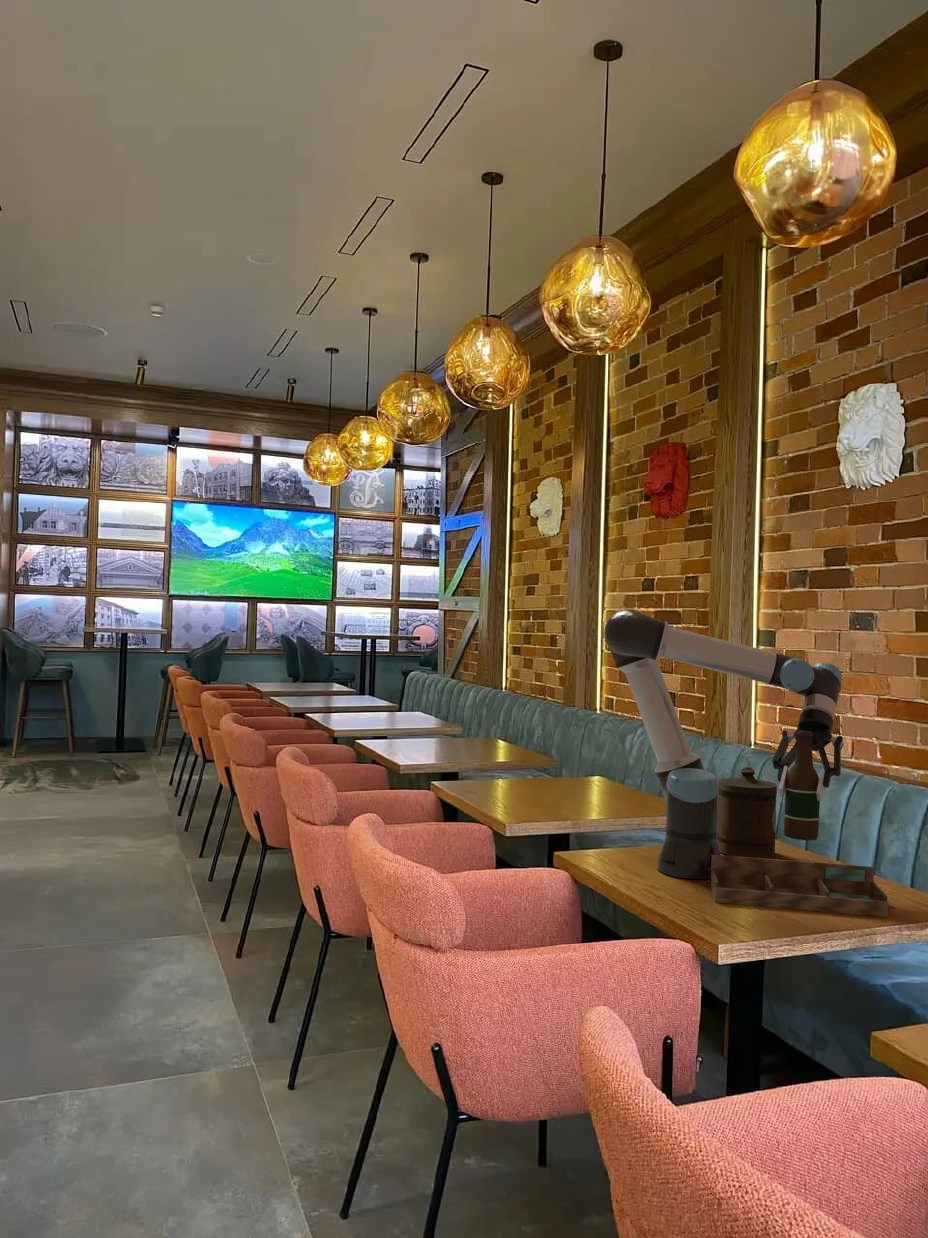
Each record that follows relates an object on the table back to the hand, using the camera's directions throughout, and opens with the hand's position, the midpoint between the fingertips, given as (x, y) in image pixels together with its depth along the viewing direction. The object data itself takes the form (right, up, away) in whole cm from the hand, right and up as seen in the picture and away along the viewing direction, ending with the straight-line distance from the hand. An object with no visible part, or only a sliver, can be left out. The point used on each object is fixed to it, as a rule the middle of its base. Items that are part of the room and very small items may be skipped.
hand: (799, 794), depth 209 cm
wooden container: (-2, -21, +33) cm, 39 cm away
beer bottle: (+1, -10, +3) cm, 11 cm away
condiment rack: (-5, -21, -10) cm, 24 cm away
